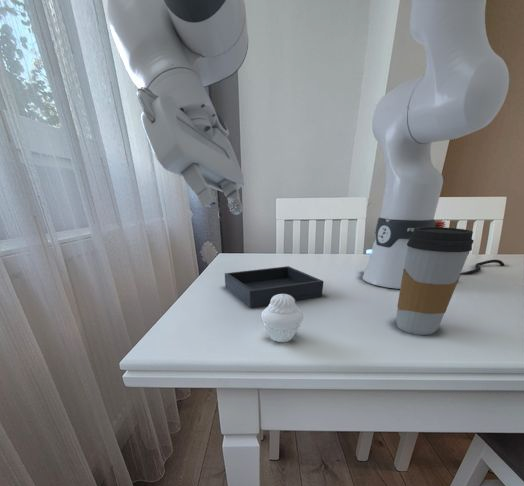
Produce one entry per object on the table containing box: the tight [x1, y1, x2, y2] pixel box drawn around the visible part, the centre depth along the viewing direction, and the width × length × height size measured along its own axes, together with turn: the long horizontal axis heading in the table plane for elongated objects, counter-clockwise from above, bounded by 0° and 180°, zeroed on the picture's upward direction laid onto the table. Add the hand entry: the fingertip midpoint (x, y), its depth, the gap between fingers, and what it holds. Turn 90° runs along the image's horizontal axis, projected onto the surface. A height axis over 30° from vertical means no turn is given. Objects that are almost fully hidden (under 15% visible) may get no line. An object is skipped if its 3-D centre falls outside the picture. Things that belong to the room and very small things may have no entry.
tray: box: [224, 265, 324, 308], centre depth 64 cm, size 17×15×3 cm
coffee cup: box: [395, 226, 475, 336], centre depth 45 cm, size 8×8×15 cm
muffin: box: [260, 294, 304, 343], centre depth 43 cm, size 6×6×7 cm
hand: (225, 209), depth 44 cm, fingers open, 8 cm apart
